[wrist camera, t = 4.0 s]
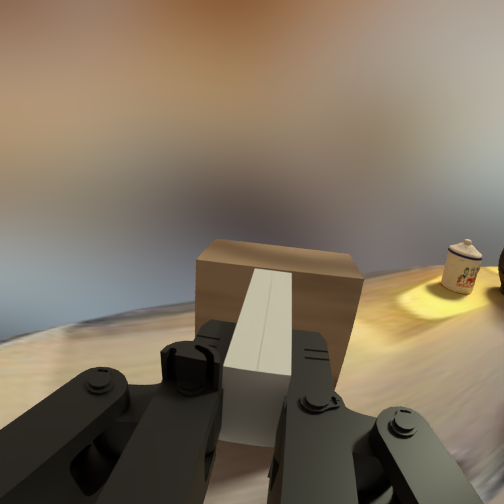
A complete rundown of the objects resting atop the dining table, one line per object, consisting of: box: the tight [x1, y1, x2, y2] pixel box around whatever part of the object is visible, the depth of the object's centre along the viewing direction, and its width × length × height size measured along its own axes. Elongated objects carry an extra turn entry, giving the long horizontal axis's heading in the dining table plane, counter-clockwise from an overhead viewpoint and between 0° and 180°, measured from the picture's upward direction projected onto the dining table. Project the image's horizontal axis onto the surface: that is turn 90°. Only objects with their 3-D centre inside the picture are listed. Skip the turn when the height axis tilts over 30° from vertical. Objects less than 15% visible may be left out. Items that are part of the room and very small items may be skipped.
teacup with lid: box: [441, 239, 482, 294], centre depth 61 cm, size 12×9×12 cm
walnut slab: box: [195, 239, 364, 447], centre depth 23 cm, size 5×10×16 cm, turn 83°
